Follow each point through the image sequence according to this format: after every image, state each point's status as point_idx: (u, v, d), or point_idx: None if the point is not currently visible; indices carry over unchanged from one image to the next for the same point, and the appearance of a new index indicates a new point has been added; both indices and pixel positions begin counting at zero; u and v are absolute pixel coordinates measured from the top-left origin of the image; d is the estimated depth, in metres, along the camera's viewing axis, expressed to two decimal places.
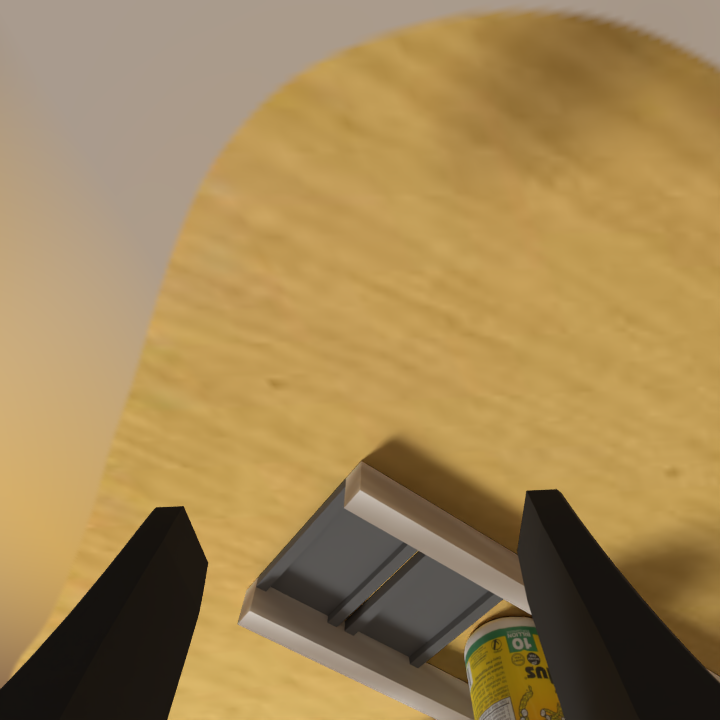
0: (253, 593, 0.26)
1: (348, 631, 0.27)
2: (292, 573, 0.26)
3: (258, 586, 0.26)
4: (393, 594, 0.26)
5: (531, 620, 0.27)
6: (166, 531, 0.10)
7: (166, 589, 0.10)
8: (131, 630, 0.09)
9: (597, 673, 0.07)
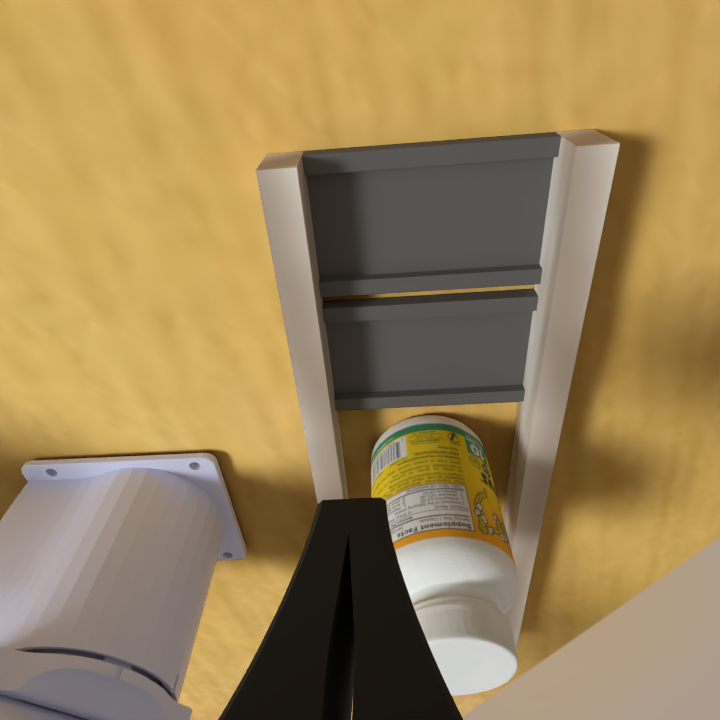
0: (296, 158, 0.16)
1: (325, 313, 0.19)
2: (354, 187, 0.17)
3: (305, 158, 0.16)
4: (424, 312, 0.19)
5: (481, 442, 0.23)
6: (347, 523, 0.10)
7: (349, 583, 0.09)
8: (339, 624, 0.08)
9: None
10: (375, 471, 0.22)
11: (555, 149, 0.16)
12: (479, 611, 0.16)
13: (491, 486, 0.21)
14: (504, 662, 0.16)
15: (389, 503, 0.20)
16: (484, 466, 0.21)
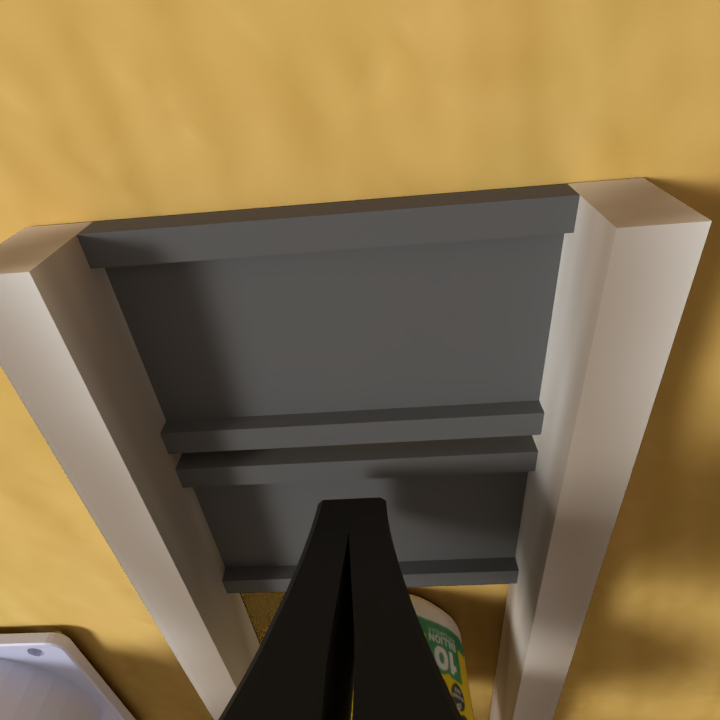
0: (58, 243, 0.08)
1: (182, 474, 0.11)
2: (195, 282, 0.09)
3: (84, 240, 0.08)
4: (346, 473, 0.11)
5: (455, 624, 0.15)
6: (347, 523, 0.10)
7: (349, 583, 0.09)
8: (339, 624, 0.08)
9: None
10: None
11: (568, 218, 0.08)
12: None
13: None
14: None
15: None
16: (455, 688, 0.14)
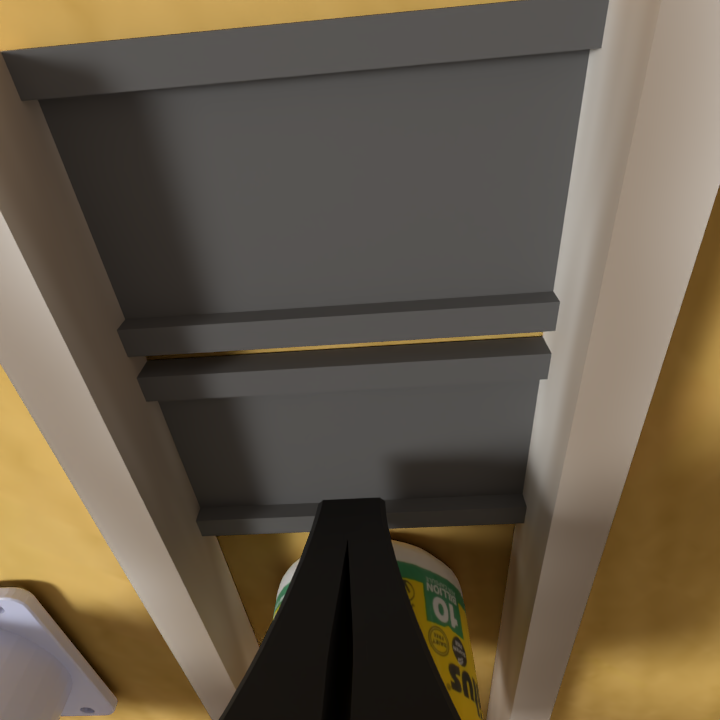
0: None
1: (145, 384, 0.10)
2: (151, 131, 0.08)
3: (11, 60, 0.07)
4: (331, 382, 0.10)
5: (455, 576, 0.14)
6: (347, 523, 0.10)
7: (349, 582, 0.09)
8: (339, 623, 0.08)
9: None
10: None
11: (595, 27, 0.07)
12: None
13: (467, 687, 0.12)
14: None
15: None
16: (456, 642, 0.12)
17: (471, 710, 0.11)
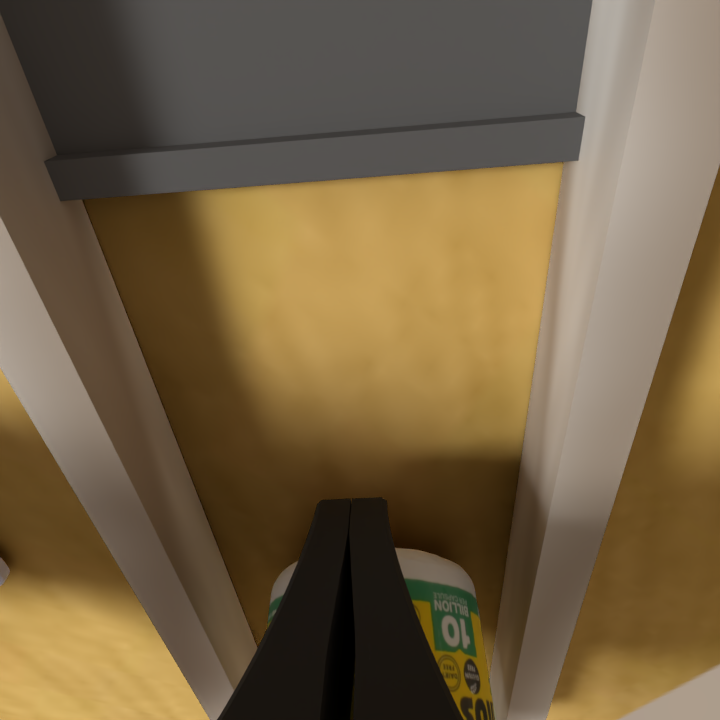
0: None
1: None
2: None
3: None
4: None
5: (467, 576, 0.12)
6: (346, 524, 0.10)
7: (348, 583, 0.09)
8: (338, 624, 0.08)
9: None
10: None
11: None
12: None
13: (481, 718, 0.10)
14: None
15: None
16: (469, 666, 0.11)
17: None
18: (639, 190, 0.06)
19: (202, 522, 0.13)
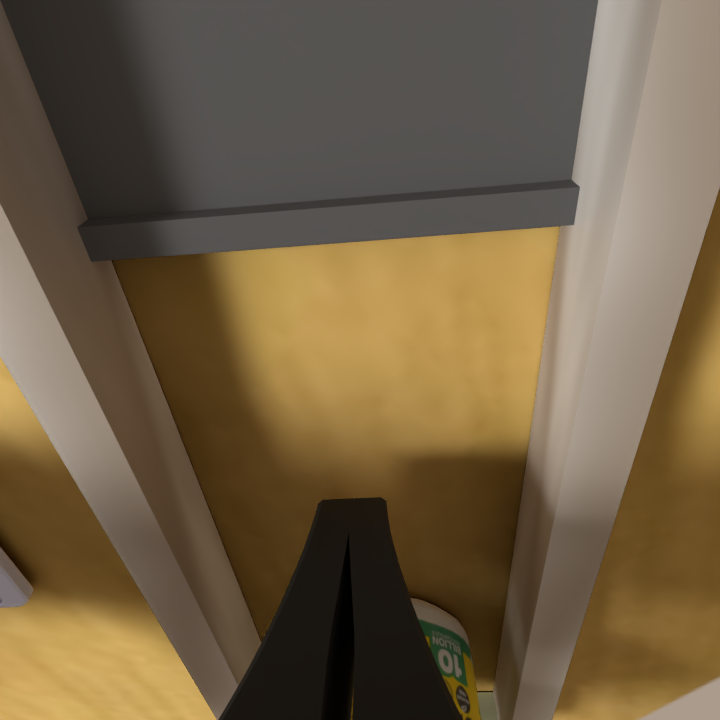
0: None
1: None
2: None
3: None
4: None
5: (460, 626, 0.16)
6: (347, 523, 0.10)
7: (349, 583, 0.09)
8: (339, 624, 0.08)
9: None
10: None
11: None
12: None
13: None
14: None
15: None
16: (460, 691, 0.14)
17: None
18: (629, 263, 0.07)
19: (217, 545, 0.14)
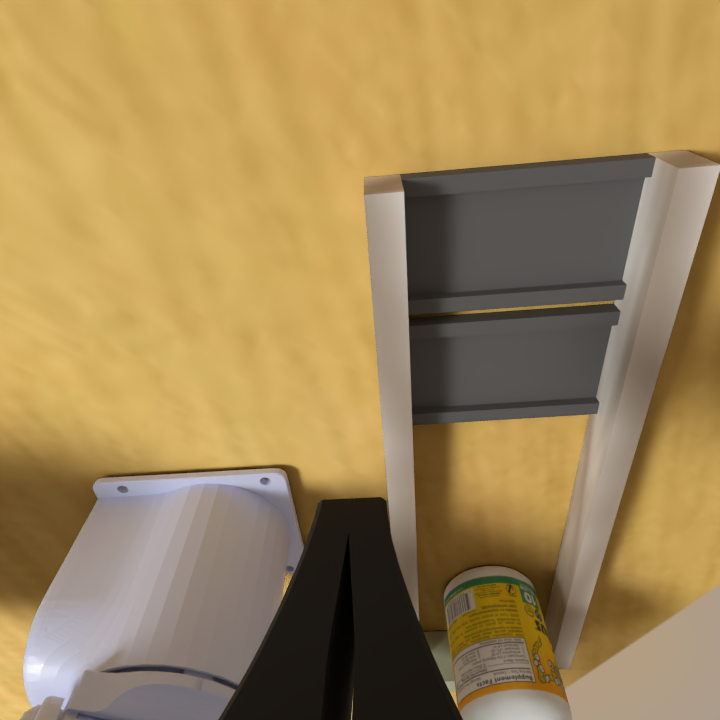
0: (397, 182, 0.16)
1: (410, 330, 0.20)
2: (447, 208, 0.17)
3: (404, 182, 0.16)
4: (506, 328, 0.19)
5: None
6: (347, 523, 0.10)
7: (349, 583, 0.09)
8: (338, 624, 0.08)
9: None
10: (450, 616, 0.28)
11: (649, 169, 0.16)
12: None
13: (543, 630, 0.27)
14: None
15: (466, 653, 0.26)
16: (536, 611, 0.27)
17: (546, 639, 0.26)
18: (617, 436, 0.21)
19: None
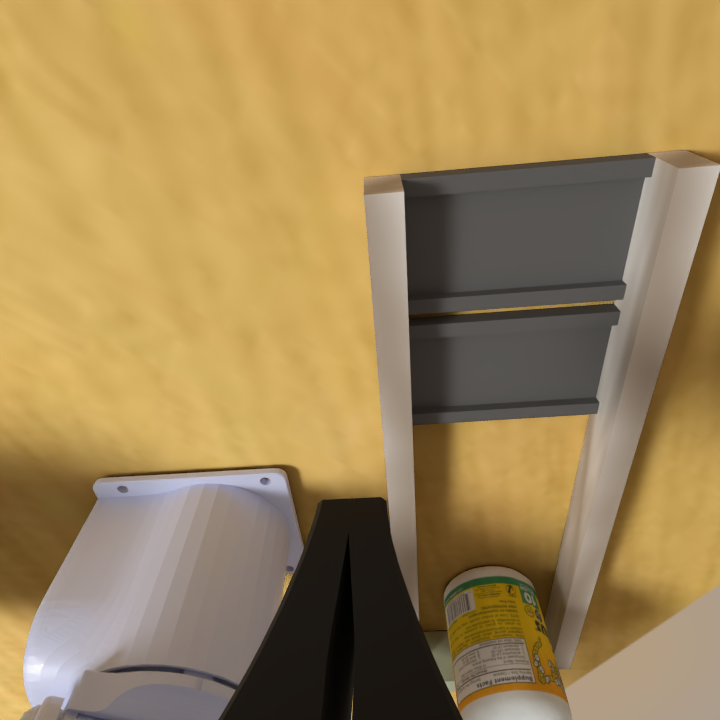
0: (397, 182, 0.16)
1: (410, 330, 0.20)
2: (447, 208, 0.17)
3: (404, 182, 0.16)
4: (506, 328, 0.19)
5: None
6: (347, 523, 0.10)
7: (349, 583, 0.09)
8: (338, 624, 0.08)
9: None
10: (450, 616, 0.28)
11: (649, 169, 0.16)
12: None
13: (543, 630, 0.27)
14: None
15: (466, 654, 0.26)
16: (536, 612, 0.27)
17: (546, 639, 0.26)
18: (617, 436, 0.21)
19: None
